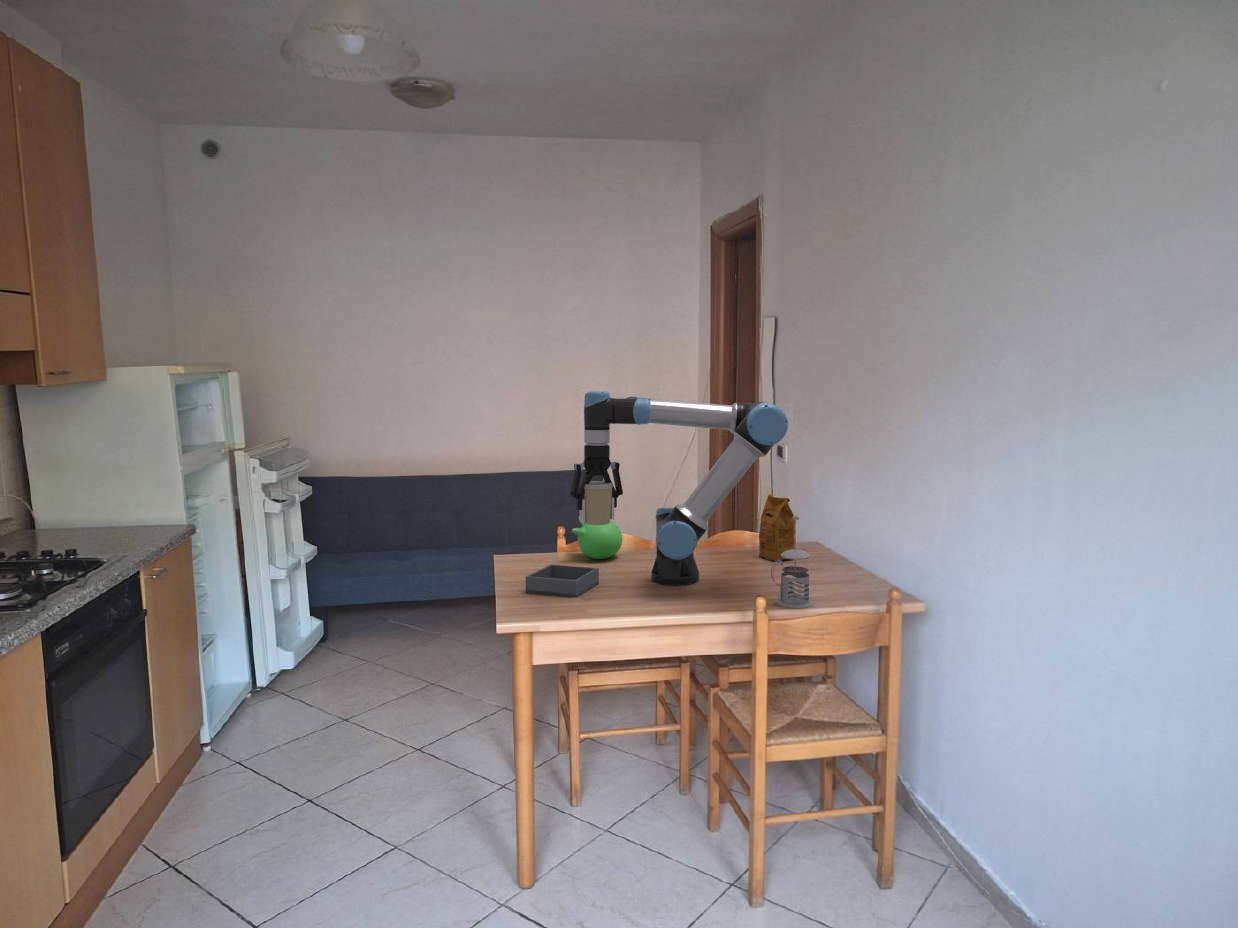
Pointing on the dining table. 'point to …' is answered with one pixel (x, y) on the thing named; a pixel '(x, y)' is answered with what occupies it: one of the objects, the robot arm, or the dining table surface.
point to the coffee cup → (597, 502)
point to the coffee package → (776, 528)
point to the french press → (794, 579)
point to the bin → (562, 580)
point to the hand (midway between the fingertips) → (596, 519)
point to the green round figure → (599, 539)
